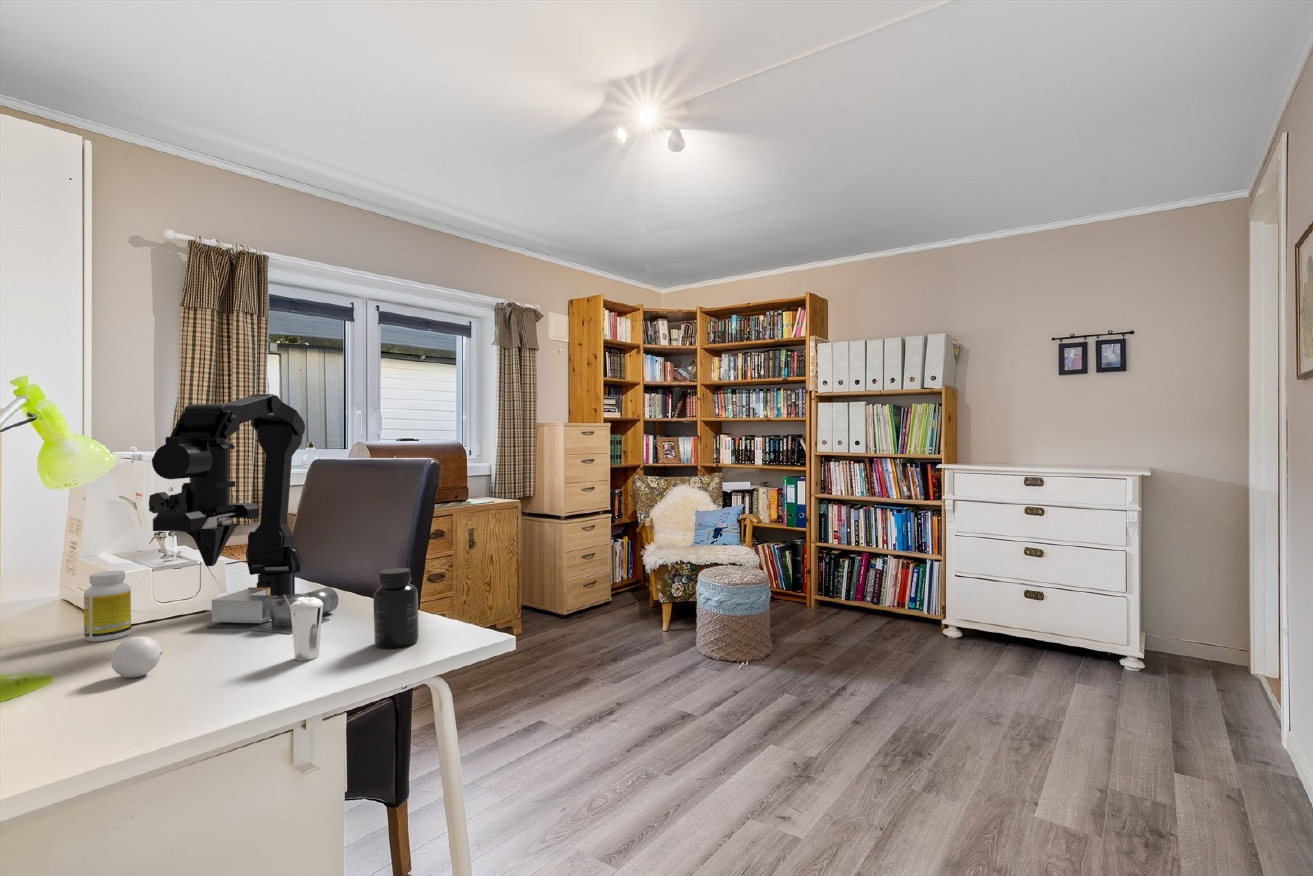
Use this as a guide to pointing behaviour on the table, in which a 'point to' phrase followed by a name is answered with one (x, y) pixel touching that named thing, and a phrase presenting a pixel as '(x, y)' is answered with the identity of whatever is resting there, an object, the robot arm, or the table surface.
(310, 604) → the milkshake
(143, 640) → the white egg
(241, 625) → the alignment strip
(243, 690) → the table surface
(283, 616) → the duct stub
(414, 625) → the supplement bottle
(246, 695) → the table surface
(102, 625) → the pill bottle
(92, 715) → the table surface
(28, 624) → the table surface
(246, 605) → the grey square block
